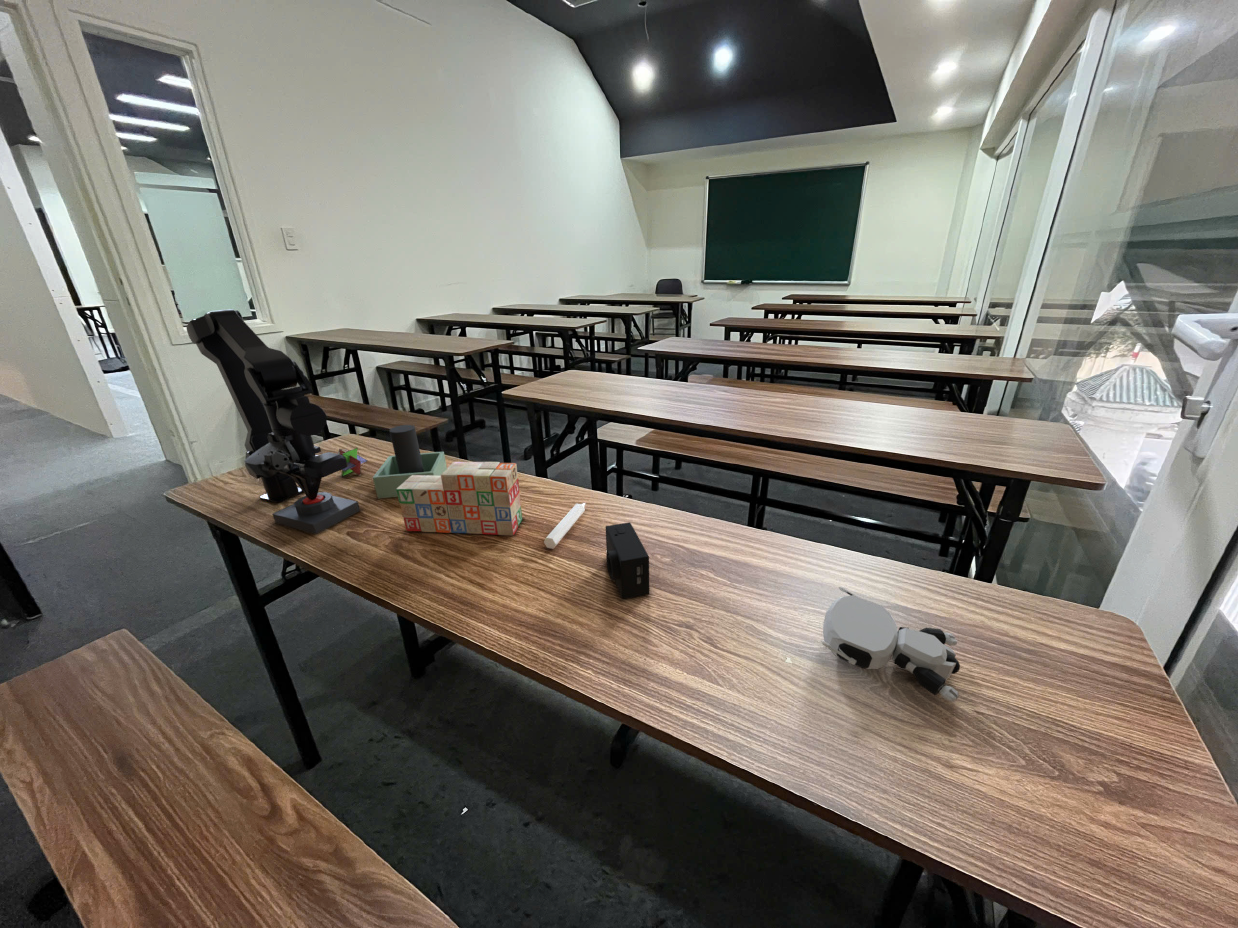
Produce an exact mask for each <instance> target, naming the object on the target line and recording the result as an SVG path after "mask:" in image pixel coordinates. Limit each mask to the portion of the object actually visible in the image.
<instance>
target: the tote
mask: <svg viewBox="0 0 1238 928" xmlns="http://www.w3.org/2000/svg"><path fill="white" fill-rule="evenodd" d="M420 455H421V459H422V464H423V469H424V472H419V473H407V474H399V470H398V466H397V461H396V457H395V454H394V455H388V456H387V458H386V460H385V461H384V462H383V463H382V464H381V466H380V467H379V469H378V470H377V471H376V472H375V474H374V475H373V477H372V481H373V484H374V485H373V486H374V489H375V492H376V497H377V499H387V498H389V499H390V498H398V495H397V491H396V489H397V488H398V487H399V486H400V485H401V484H403V483H404V481H406V480H407V479H408V478H409V477H410V476H412V475H425V476H427V475H431V476H441V474H442V473H443V472H444V471H445V470H446V469H447V468H448V467H447V462H446V456H445V451H433V452H420Z"/></svg>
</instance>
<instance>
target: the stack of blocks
mask: <svg viewBox="0 0 1238 928" xmlns="http://www.w3.org/2000/svg"><path fill="white" fill-rule="evenodd" d="M396 491H397V495H398V497H397V500H398V503H399V505H400V506H399V507H400V510H401V515H402V518H403V522H404V523H403V524H404V528H405V530H406V532H422V533H445V534H451V533H453V534H474V535H475V534H478V535H491V536H492V535H496V536H498V535H499V536H514V535H515V534H516V532H517V530H518V528H519V526H520V524H521V522H523V511H522V503H521V494H520V483H519V477H518V467H517V462H516V463H515V462H514V463H513V462H500V461H453V462H451V464H449V466H448V467H447V469H446V470H445V471H444V472H443V473H442V474H441V476H431V475H427V476H425V475H412V476H410V477H409V478H408V479H407V480H406V481H404V483H403V484H401V485H400V486H399V487H398V488H397V489H396Z"/></svg>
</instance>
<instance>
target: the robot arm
mask: <svg viewBox="0 0 1238 928" xmlns="http://www.w3.org/2000/svg"><path fill="white" fill-rule="evenodd" d="M186 332H187V335H188V338H189V339H190V341H191V343H192V344H193V345H196V347H197V349H198V351H199V352H200V354H201V355H203V356H204V357H206V358H207V359H208V360H210V361H211V362H213V363H214V364H215V365H216V366H217V369H218V371H219V372H220V373H219V374H220V375H221V377H222V379H223V381H224V383H225V386H226V387H227V390H228V392H229V394H230V396H231V398H232V401H233V403H234V405H235V407H236V409H237V412H238V413H239V415H240V418H241V420H242V422H243V424H244V426H245V428H246V430H247V432H246V438H245V442H244V447H245V450H246V452H245V457H244V458H245V459H244V466H245V468H246V470H247V473H248V475H250V476H251V477H253V478H255V479H256V480H259V479H260V480H261V482H262V485H263V488H264V491H265V493H264V494H262V495H260V496H259V499H260V500H263V501H267V502H272V503H275V504H279V503H282V502H285V501H287V500H289V499H291V498H294V497H296V496H298V495H301V494H302V493H304V496H307V497H308V499H311V500H313V499H315V498H317V494H318V493H319V490H320V487H321V482H322V480H323V478H325V477H328V476H330V475H332V474H335V473H338V472H339V471H342V469H344V468H346V467H348V464H347V460H346V457H345V456H343V455H341V454H338V453H337V452H336V453H335V452H329V451H327V452H324V453H322V454H318V453H321V452H322V450H321V447H320V446H317V445H315V444H314V440H313V437H312V436H315V435H317V434H319V433H321V432H322V431H323V430H324V428H325V427H326V425H327V423H328V418H327V414H326V411H324V409H323V408H322V407H321V406H320V405H318V404H316V403H313V402H310V399H309V396H307V395H311V394H314V392H313V390H312V383H311V381H310V379H308V377H307V375H306V373H304V371H303V370H302V368H301V367H300V366H299V365H298V363H297V362H296V361H294V360H292V358H291V357H290V356H289V355H287V354H286V353H284V352H283V351H282V350H278V349H275V348H271V347H269V346H268V345H267V344H266V343H265V342H264V341H263V340H262V339H261V338H260V337H259V335H257V334H256V332H255V331H254V330H253V329H252V328H251V327H250V326H249V325H248V324H247V323H246V322H245V320H244V318H243V315H242V314H241V312H240V311H239V310H235V309H232V308H231V309H220V310H210V311H209V312H205V314H204V315H201V316H200V317H197V318H193V319H191V320H190V321H189V322H188V323H187V325H186ZM298 385H299V386H298Z"/></svg>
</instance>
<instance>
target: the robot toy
mask: <svg viewBox="0 0 1238 928" xmlns="http://www.w3.org/2000/svg"><path fill="white" fill-rule="evenodd" d="M838 589H839V590H840V591H841V592H843V593H846V594H847V595H844V596H841V597H837V598H835V600H833V602H831V604H830V606H829V607H828V609H827V610H826V612H825V615H824V619H823V622H822V623H823V624H822V636H823V640H821V644H822V645H823V646H824V647H825V648H828V650H829V651H830V652H831V653H832V654H833V655H834V656H835V657H837V658H839V659H840V660H842V661H844V662H847V663H849V664H851V665H853V666H856V667H859V668H861V669H866V670H879V669H881V668H884V667H885V666H886V665H888V663H890V660H891V659H892V660H893V664H894V665H896V667H899V668H900V669H901V670H906V671H907V672H909V673H910V674H912V675H913V676H914V678H915V679H916V682H917V683H918V685H919V686H921V687H922V688H924V689H925V690H926V691H928V692H929V693H930V694H932V695H933V696H937V695H938V694H940V696H941V697H942V698H943V699H944V700H946V701H947V702H950V703H954V702H956V700H957V699H958V698H959V697H960V693H959V692H958V691H957V690H956V689H955V688H954V687H953V686H950V685H947V684H946V681H947V680H948V679H949V678H950V677H951V675H955V674H957V673H959V671H960V670H961V664H960V661H959V660H958V659H957V658H956V656H957V654H956V652H955V651H954V650H953V648H951V647H952V646H953V647H954V646H956V645H957V644H958V639H957V638H956V637H955V635H954V634H953V633H950V632H948V631H947V632H944V631H943V630H942V629H940V628H933V627H924V628H923V629H920V630H916V629H914V628H909V627H905V626H900V627H898V625H897V622H896V620H895V618H894V617H893V615H892V614H891V613H890V612H889V611H888V610H887V609H886V608H885V607H884V606H883V604H882V605H881V604H879V603H876V602H873V601H871V600H867V599H866V598H865V599H864V598H862V597H859V596H857V595H856V594H854V593H852V592H850V591H849V590H847V589H846V588H845V587H843V586H838ZM949 646H950V647H949Z"/></svg>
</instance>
